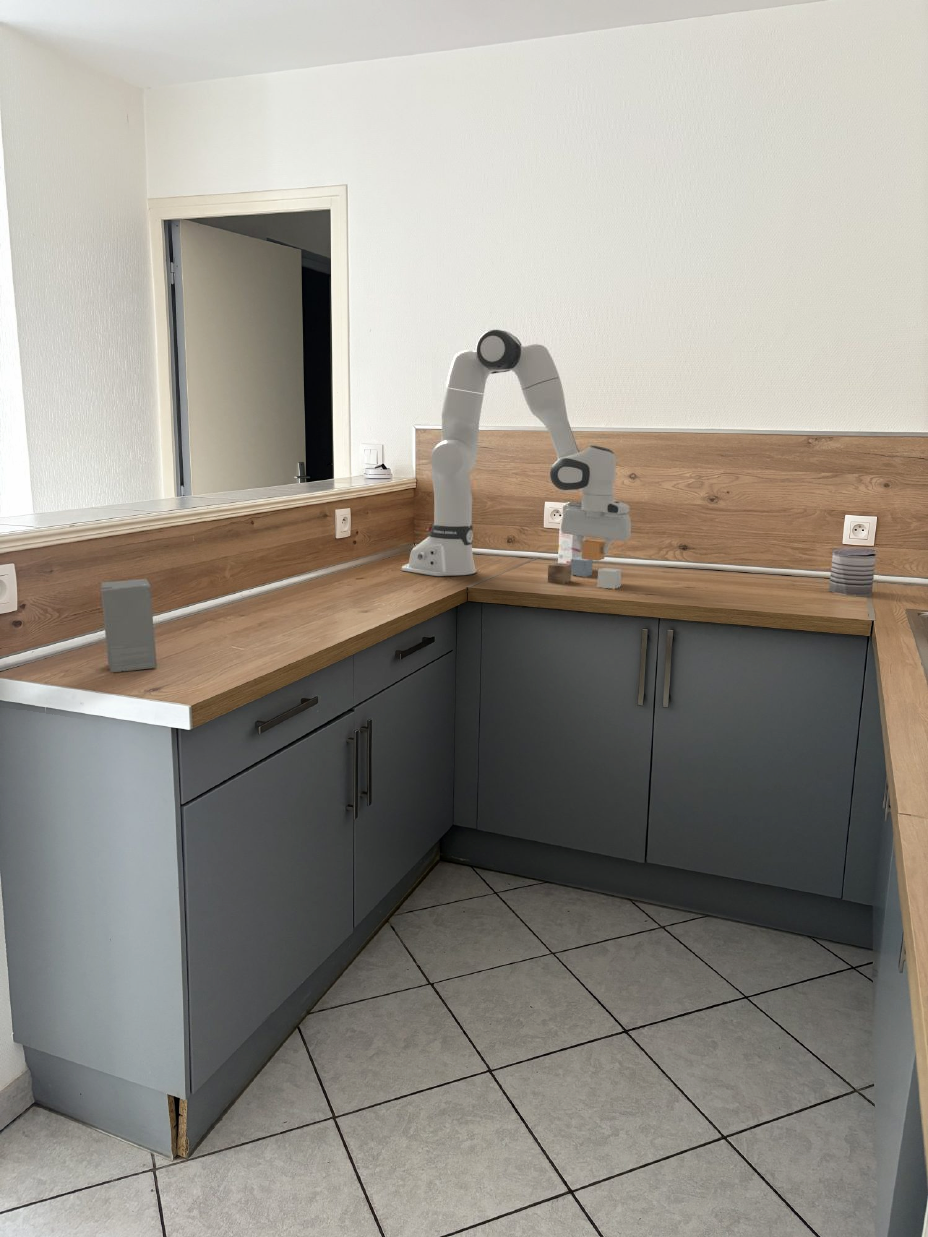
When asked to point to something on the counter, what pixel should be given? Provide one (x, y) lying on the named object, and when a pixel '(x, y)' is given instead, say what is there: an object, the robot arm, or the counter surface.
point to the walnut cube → (559, 573)
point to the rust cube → (593, 550)
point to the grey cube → (609, 578)
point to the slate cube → (581, 567)
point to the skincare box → (128, 625)
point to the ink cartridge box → (568, 547)
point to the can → (853, 571)
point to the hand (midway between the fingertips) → (593, 552)
